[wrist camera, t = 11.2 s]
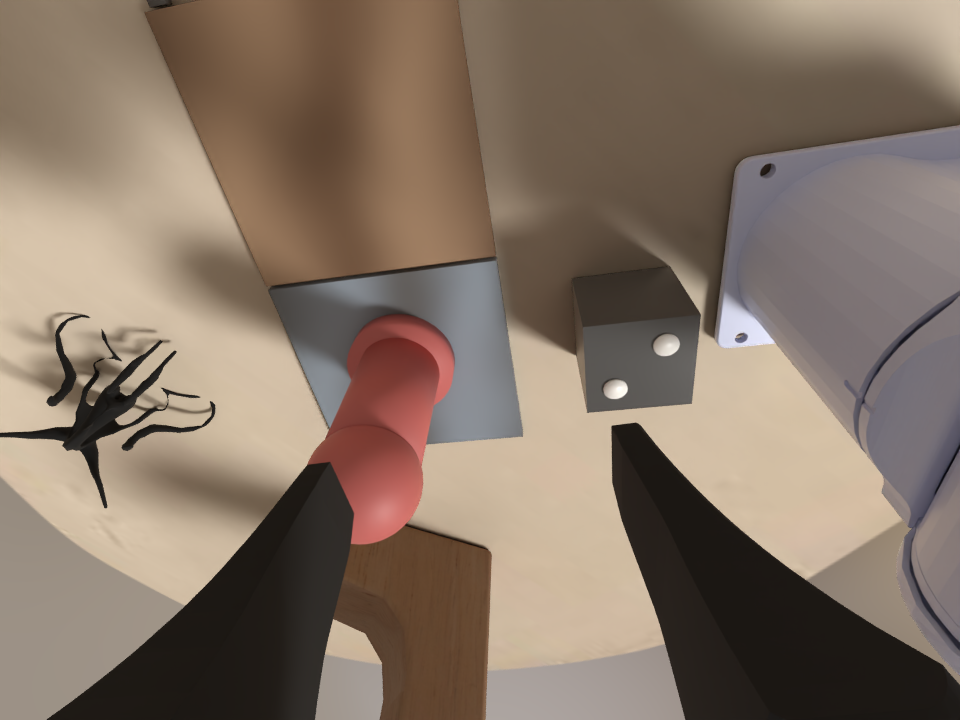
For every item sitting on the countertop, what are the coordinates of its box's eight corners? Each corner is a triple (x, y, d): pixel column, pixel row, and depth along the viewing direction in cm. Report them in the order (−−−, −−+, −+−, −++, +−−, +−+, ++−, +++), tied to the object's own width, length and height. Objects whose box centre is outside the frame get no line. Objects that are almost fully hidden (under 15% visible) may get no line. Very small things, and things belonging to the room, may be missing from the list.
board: (344, -744, 9) (338, -771, 9) (522, 431, 26) (522, 436, 25) (-98, -557, 11) (-118, -575, 10) (341, 446, 27) (339, 451, 27)
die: (670, 266, 20) (701, 315, 17) (665, 347, 22) (692, 404, 19) (571, 278, 21) (583, 328, 17) (576, 356, 23) (587, 413, 20)
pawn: (443, 308, 21) (404, 473, 14) (463, 394, 24) (439, 573, 16) (339, 320, 22) (244, 484, 14) (369, 402, 25) (303, 579, 17)
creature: (109, 275, 23) (17, 380, 25) (30, 317, 18) (-77, 443, 20) (249, 379, 26) (159, 466, 28) (212, 438, 22) (106, 538, 23)
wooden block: (342, 549, 33) (203, 987, 18) (359, 509, 30) (212, 978, 15) (468, 584, 34) (436, 1013, 19) (494, 549, 32) (478, 1009, 17)
